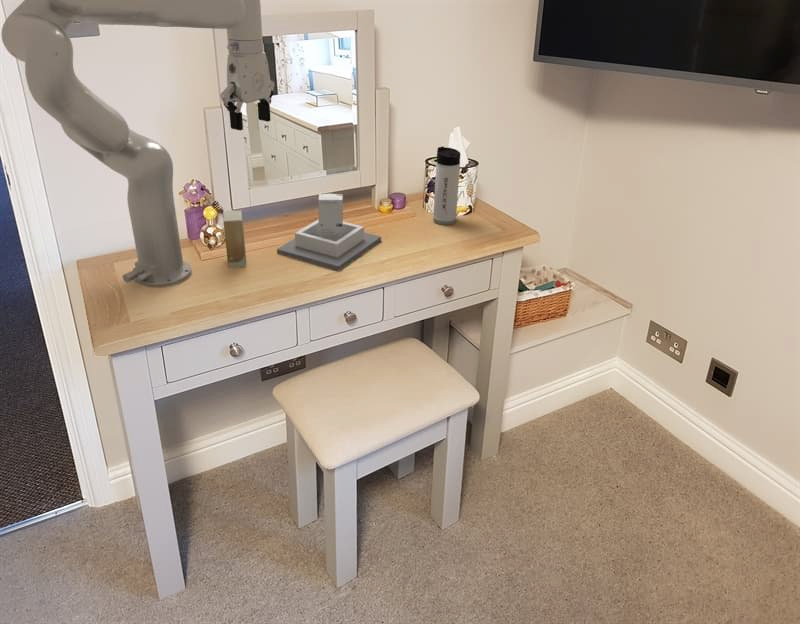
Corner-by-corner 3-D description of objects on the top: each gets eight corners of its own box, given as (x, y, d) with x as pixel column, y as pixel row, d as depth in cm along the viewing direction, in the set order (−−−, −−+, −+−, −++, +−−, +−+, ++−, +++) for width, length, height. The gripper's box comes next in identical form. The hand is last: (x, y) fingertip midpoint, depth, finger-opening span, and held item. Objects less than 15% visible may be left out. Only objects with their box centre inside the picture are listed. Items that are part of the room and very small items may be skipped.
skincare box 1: (228, 257, 168) (223, 210, 162) (246, 256, 169) (241, 209, 162) (228, 269, 162) (222, 220, 156) (246, 267, 163) (242, 219, 157)
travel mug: (443, 214, 195) (447, 144, 185) (460, 221, 191) (465, 150, 181) (427, 219, 191) (431, 148, 181) (444, 227, 187) (449, 155, 177)
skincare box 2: (318, 245, 172) (317, 199, 166) (319, 238, 176) (317, 193, 170) (343, 245, 172) (342, 199, 166) (343, 238, 176) (342, 193, 170)
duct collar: (338, 270, 163) (338, 252, 161) (277, 253, 170) (276, 235, 168) (380, 240, 178) (381, 224, 176) (323, 226, 186) (322, 209, 183)
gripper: (232, 54, 144) (238, 135, 152) (283, 44, 157) (286, 119, 166) (205, 49, 147) (212, 130, 156) (257, 40, 160) (262, 114, 169)
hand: (251, 124), depth 161 cm, fingers open, 9 cm apart
